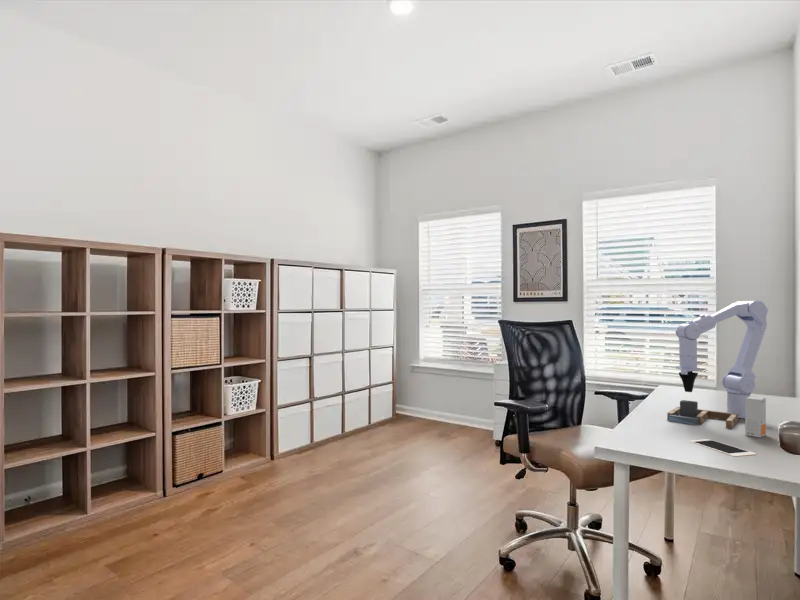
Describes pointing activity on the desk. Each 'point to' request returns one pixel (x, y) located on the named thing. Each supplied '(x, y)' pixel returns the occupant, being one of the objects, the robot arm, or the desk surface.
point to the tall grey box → (688, 408)
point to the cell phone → (723, 447)
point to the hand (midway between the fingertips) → (688, 391)
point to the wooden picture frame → (703, 417)
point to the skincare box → (755, 416)
